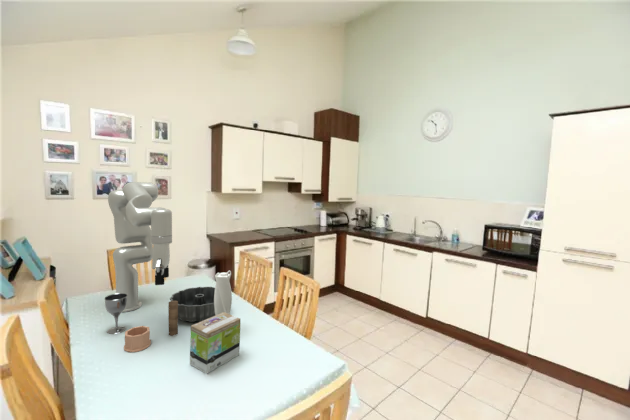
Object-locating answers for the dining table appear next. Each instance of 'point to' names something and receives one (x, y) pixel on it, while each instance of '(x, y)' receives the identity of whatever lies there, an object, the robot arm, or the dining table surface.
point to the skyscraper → (222, 293)
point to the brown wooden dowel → (173, 318)
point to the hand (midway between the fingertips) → (162, 280)
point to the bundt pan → (195, 303)
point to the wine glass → (116, 309)
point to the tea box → (214, 341)
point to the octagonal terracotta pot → (137, 339)
